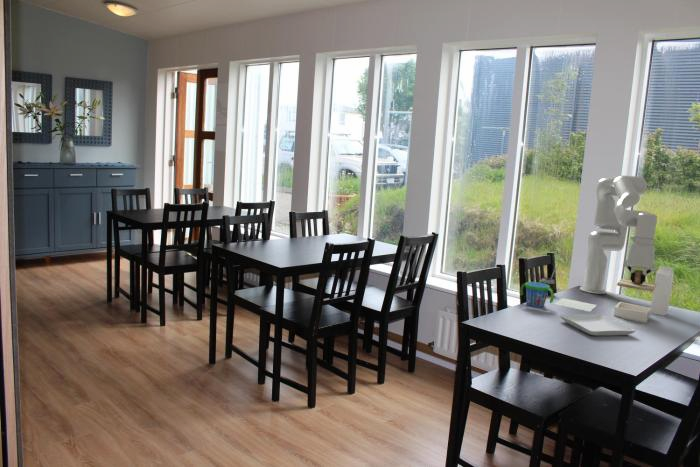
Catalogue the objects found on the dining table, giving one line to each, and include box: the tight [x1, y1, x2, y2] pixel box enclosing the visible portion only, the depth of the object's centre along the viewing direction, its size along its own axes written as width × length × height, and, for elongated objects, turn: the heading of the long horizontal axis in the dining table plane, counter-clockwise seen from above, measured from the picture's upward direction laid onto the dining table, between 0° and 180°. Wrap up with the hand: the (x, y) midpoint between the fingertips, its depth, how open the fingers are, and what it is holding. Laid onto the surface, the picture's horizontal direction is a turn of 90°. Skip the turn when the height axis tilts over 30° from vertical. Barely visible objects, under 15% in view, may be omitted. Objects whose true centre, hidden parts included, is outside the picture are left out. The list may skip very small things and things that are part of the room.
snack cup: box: [519, 281, 555, 308], centre depth 266 cm, size 16×10×10 cm
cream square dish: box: [613, 301, 651, 325], centre depth 260 cm, size 13×13×4 cm
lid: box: [616, 269, 656, 293], centre depth 258 cm, size 14×14×7 cm
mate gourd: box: [539, 264, 560, 296], centre depth 290 cm, size 8×8×15 cm
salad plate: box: [559, 313, 637, 336], centre depth 238 cm, size 21×21×3 cm
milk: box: [650, 265, 675, 317], centre depth 270 cm, size 6×6×22 cm
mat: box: [553, 297, 597, 312], centre depth 273 cm, size 16×16×1 cm
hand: (637, 282), depth 258 cm, fingers closed on lid, 3 cm apart
